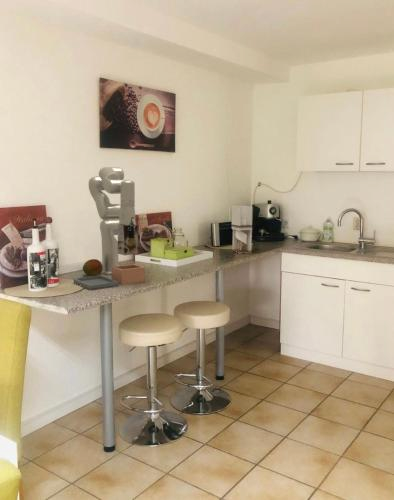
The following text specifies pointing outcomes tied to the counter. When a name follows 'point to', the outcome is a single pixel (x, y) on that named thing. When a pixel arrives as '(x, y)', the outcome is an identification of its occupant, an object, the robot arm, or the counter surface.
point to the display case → (242, 228)
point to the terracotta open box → (128, 274)
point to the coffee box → (127, 240)
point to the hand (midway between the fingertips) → (127, 236)
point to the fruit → (93, 267)
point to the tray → (96, 282)
